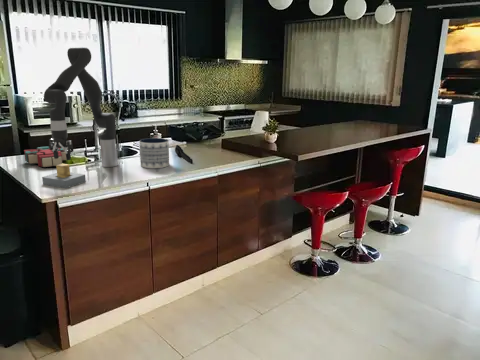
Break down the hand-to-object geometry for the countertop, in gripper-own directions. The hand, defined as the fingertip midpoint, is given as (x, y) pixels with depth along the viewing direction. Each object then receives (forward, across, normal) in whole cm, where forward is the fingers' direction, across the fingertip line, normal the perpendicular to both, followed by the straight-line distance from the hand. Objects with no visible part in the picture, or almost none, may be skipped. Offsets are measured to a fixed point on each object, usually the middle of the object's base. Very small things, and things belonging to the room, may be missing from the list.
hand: (62, 159), depth 207 cm
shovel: (+15, -25, -82) cm, 87 cm away
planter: (+14, -19, -56) cm, 60 cm away
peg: (+13, 0, 0) cm, 13 cm away
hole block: (+13, 0, 0) cm, 13 cm away
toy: (+14, +45, -29) cm, 55 cm away
